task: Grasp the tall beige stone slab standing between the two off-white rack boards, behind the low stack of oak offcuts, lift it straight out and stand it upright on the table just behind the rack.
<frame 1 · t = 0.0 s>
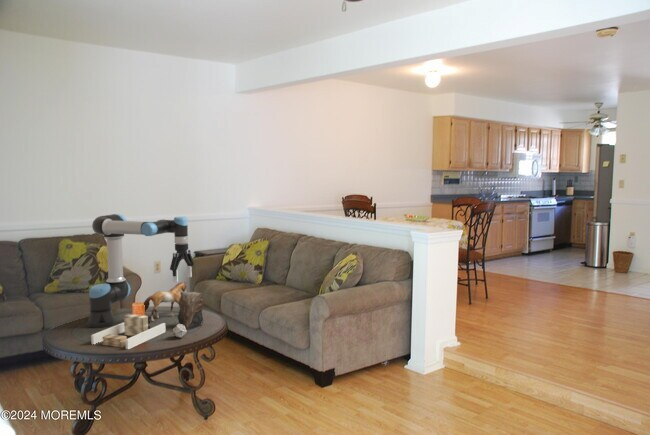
hand: (182, 279, 316), 28 cm above the table, tool pointing down, fingers open, 13 cm apart
brown rough tall block: (189, 327, 317), on the table
beige stone slab: (136, 335, 302), on the table
game die: (180, 338, 297), on the table
offcut stack: (115, 344, 287), on the table
rack: (129, 337, 297), on the table
horse figurine: (163, 317, 337), on the table
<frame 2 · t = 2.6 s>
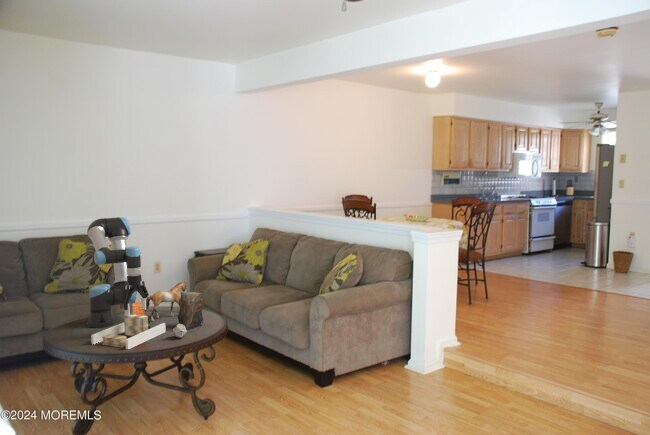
hand: (135, 312, 300), 13 cm above the table, tool pointing down, fingers open, 13 cm apart
nothing on the table moved.
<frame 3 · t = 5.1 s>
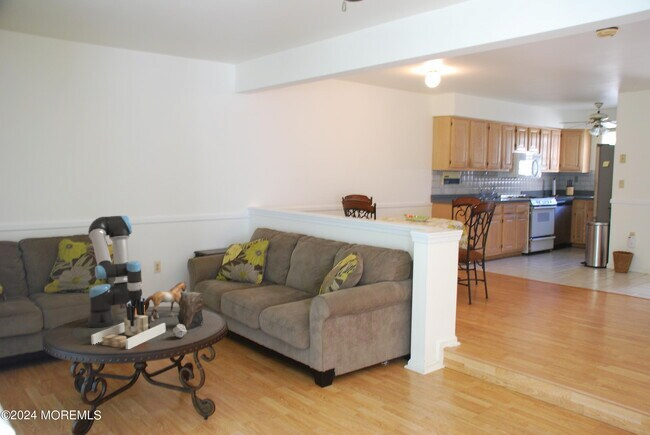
hand: (136, 330, 302), 3 cm above the table, tool pointing down, fingers closed on beige stone slab, 4 cm apart
beige stone slab: (136, 335, 302), on the table, touching gripper
everything else where it was.
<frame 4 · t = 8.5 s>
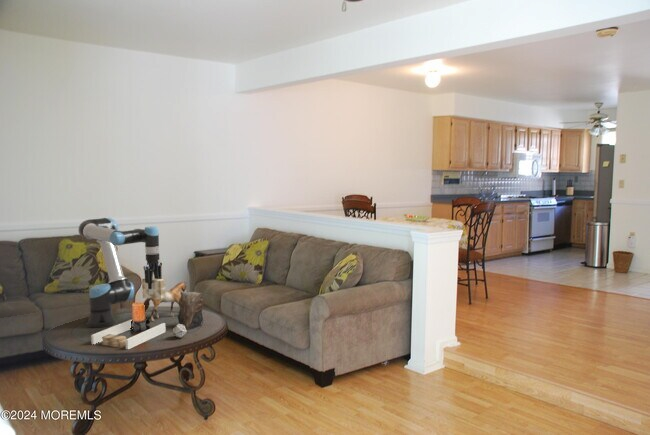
hand: (154, 293, 312), 21 cm above the table, tool pointing down, fingers closed on beige stone slab, 4 cm apart
beige stone slab: (154, 297, 313), point 18 cm above the table, touching gripper
everything else where it was.
when the fingers open (4 cm above the table, at t = 12.1 s): beige stone slab drops 1 cm, on the table.
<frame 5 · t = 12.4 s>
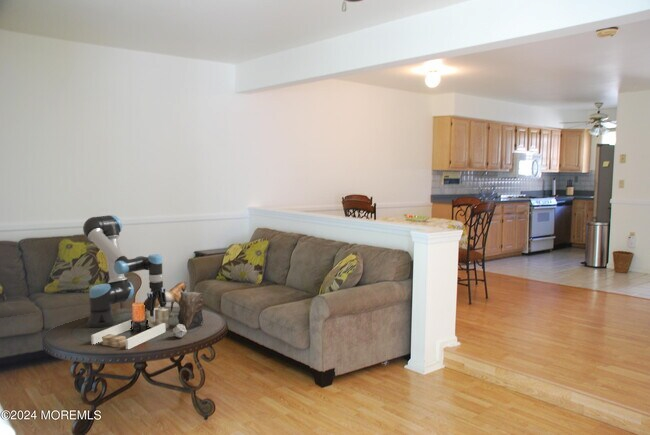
hand: (157, 319, 316), 5 cm above the table, tool pointing down, fingers open, 7 cm apart
beige stone slab: (157, 327, 316), on the table
everything else where it was.
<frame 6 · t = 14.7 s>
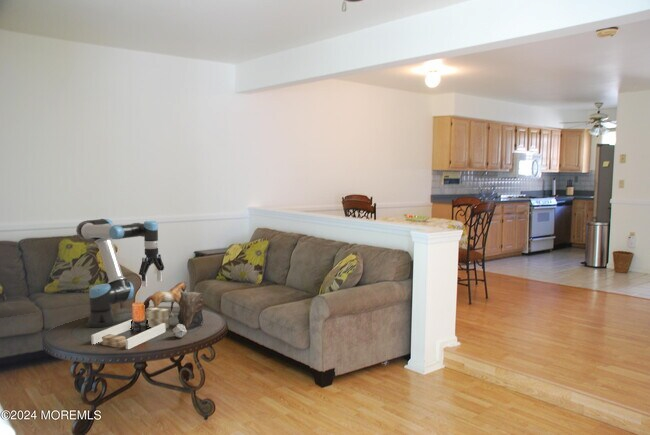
hand: (152, 283, 314), 26 cm above the table, tool pointing down, fingers open, 13 cm apart
nothing on the table moved.
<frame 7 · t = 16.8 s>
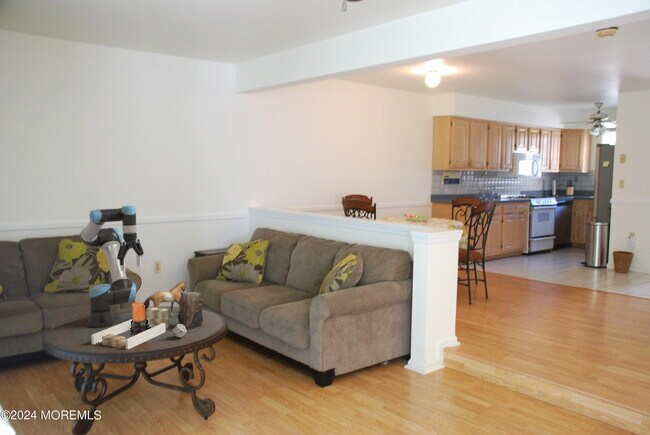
hand: (131, 268, 314), 35 cm above the table, tool pointing down, fingers open, 13 cm apart
nothing on the table moved.
at the end: beige stone slab inside the target area (0.0 cm from its centre), on the table; beige stone slab tilted 0°; offcut stack moved 0.7 cm from its start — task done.
